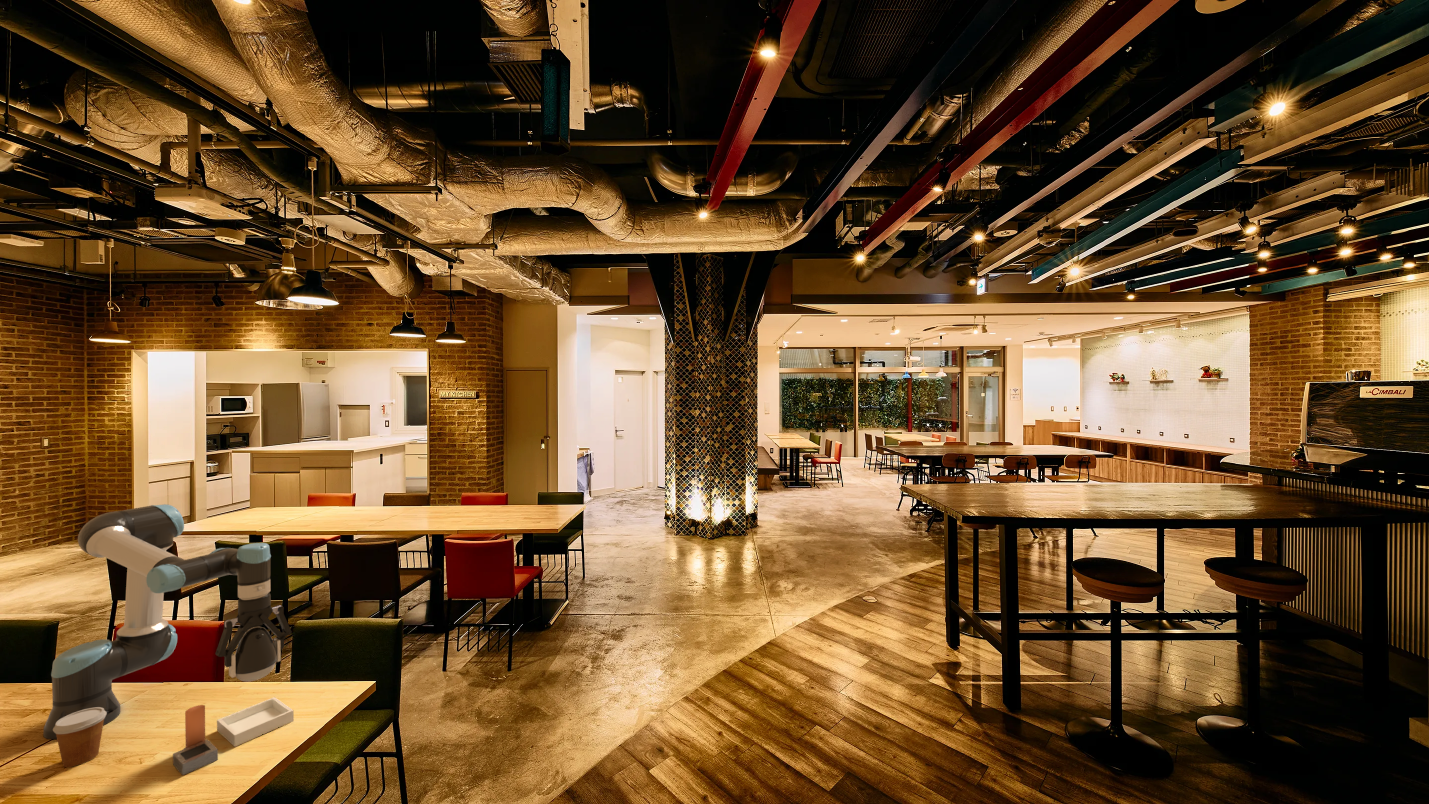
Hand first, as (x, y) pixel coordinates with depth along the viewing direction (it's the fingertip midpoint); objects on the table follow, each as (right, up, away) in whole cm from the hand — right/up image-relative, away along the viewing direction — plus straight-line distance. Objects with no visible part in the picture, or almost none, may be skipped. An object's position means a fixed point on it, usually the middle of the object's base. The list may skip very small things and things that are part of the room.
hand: (255, 667), depth 160 cm
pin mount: (-3, -18, -16) cm, 24 cm away
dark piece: (0, -3, 0) cm, 3 cm away
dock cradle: (0, -18, 0) cm, 18 cm away
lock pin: (-8, -17, -10) cm, 22 cm away
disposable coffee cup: (-36, -18, -14) cm, 43 cm away
